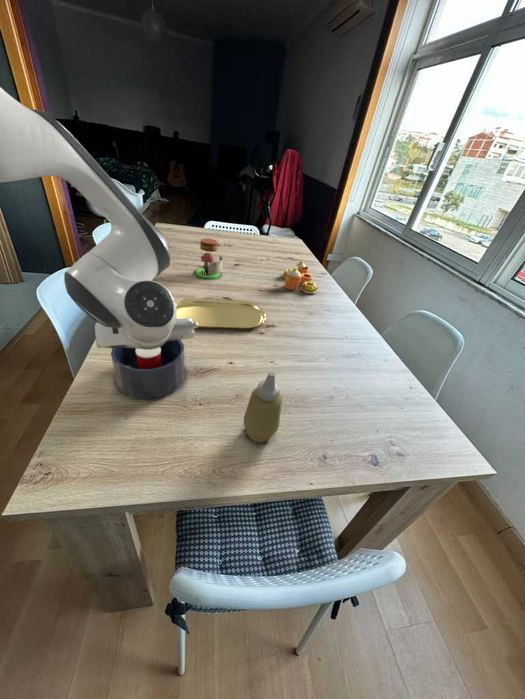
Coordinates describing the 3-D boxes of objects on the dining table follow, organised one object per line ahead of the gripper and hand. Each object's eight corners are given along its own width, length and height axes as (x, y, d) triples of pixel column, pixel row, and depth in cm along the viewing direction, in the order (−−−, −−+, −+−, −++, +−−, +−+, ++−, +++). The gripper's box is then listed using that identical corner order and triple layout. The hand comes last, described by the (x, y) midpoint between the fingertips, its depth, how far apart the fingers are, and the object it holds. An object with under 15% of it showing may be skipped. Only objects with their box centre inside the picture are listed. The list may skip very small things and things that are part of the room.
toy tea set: (317, 296, 132) (323, 276, 126) (284, 292, 130) (288, 271, 125) (308, 273, 153) (313, 255, 147) (279, 270, 151) (282, 251, 146)
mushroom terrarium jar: (190, 277, 129) (190, 242, 120) (199, 267, 139) (200, 235, 130) (217, 282, 129) (219, 248, 120) (223, 271, 139) (225, 239, 130)
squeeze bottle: (262, 413, 72) (275, 356, 61) (283, 437, 67) (300, 379, 57) (235, 426, 68) (243, 367, 57) (255, 453, 63) (267, 394, 52)
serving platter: (169, 301, 110) (169, 297, 109) (261, 305, 117) (261, 302, 116) (165, 328, 95) (164, 324, 94) (269, 331, 102) (270, 328, 102)
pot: (126, 408, 67) (120, 379, 62) (110, 365, 78) (104, 337, 73) (194, 387, 76) (194, 360, 71) (172, 351, 86) (170, 325, 81)
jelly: (142, 385, 73) (139, 359, 68) (136, 371, 77) (132, 346, 72) (165, 378, 76) (163, 354, 71) (158, 365, 80) (156, 341, 75)
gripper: (198, 308, 62) (188, 322, 75) (88, 314, 54) (98, 330, 67) (202, 336, 62) (192, 347, 74) (92, 348, 54) (101, 357, 66)
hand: (147, 339), depth 70 cm, fingers open, 8 cm apart
